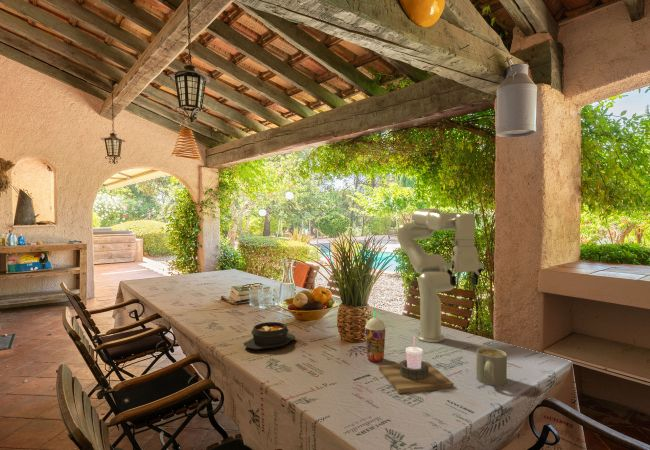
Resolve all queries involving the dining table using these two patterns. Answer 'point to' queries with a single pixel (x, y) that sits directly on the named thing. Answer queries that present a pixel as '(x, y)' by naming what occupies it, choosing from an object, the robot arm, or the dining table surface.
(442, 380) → the socket board
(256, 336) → the casserole
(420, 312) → the robot arm
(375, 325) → the smoothie
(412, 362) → the beverage cup
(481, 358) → the coffee mug
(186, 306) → the dining table surface
